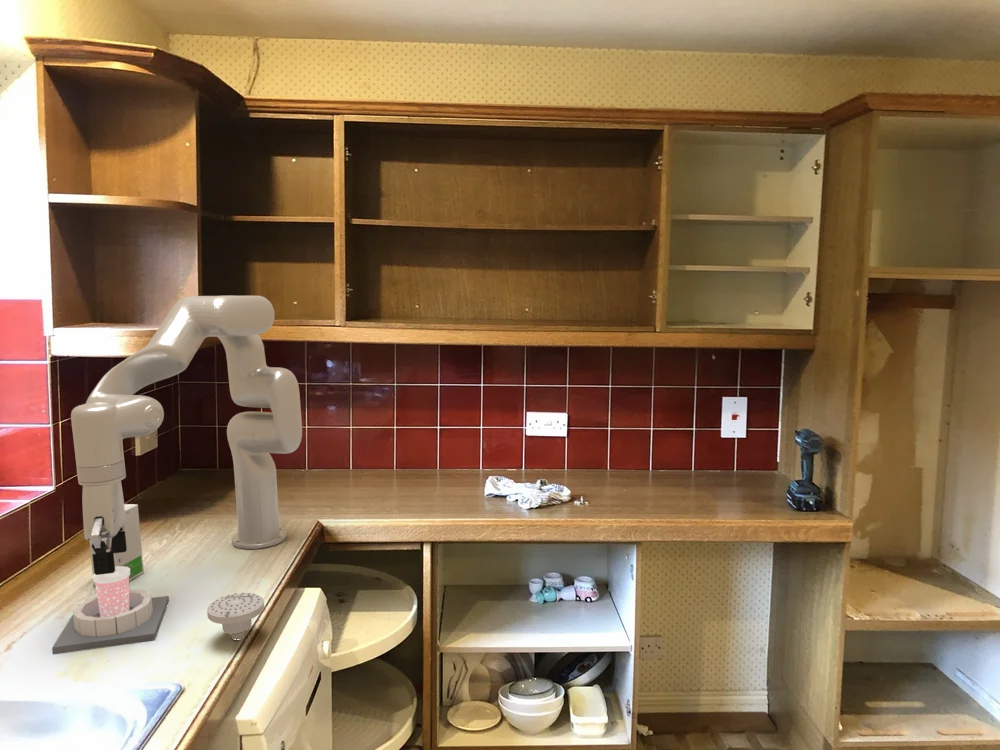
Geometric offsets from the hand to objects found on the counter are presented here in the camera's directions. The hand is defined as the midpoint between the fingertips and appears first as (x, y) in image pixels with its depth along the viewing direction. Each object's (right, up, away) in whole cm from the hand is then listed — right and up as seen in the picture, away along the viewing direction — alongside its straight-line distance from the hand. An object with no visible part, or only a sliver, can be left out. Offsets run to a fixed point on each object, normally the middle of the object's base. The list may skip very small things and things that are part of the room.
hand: (111, 562), depth 133 cm
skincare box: (-10, -10, +22) cm, 26 cm away
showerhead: (+24, -13, -4) cm, 28 cm away
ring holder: (0, -12, +1) cm, 12 cm away
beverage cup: (0, -11, +1) cm, 11 cm away
